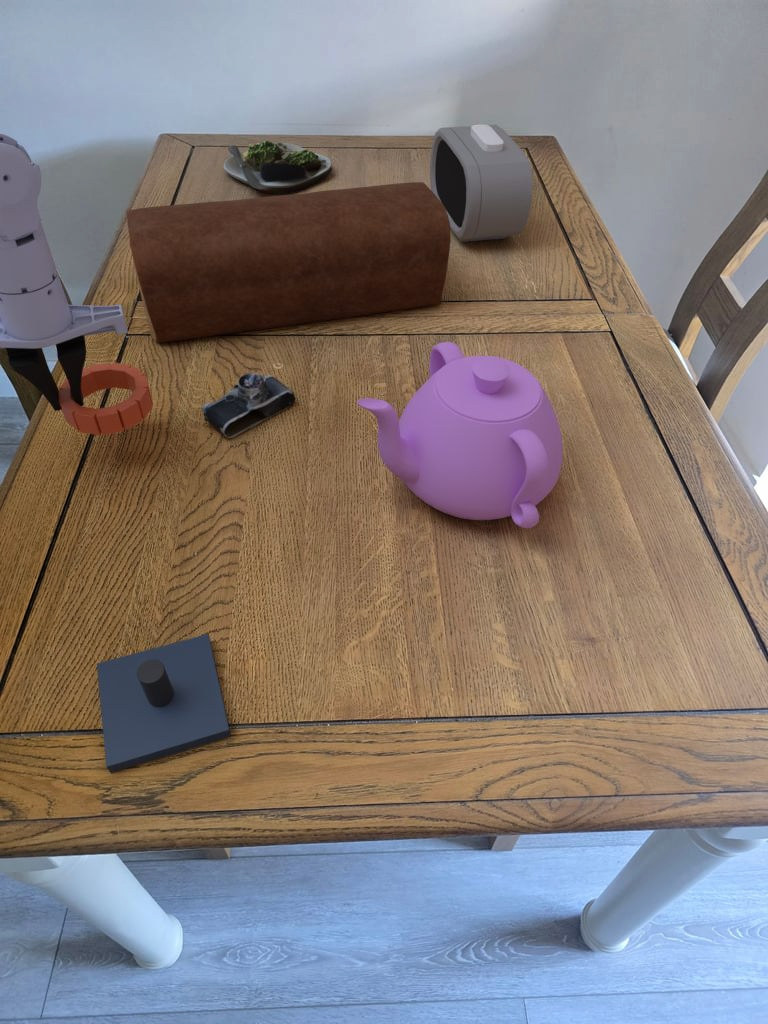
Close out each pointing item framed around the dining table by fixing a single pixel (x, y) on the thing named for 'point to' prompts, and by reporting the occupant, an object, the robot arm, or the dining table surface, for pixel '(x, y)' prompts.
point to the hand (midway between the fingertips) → (69, 402)
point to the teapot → (474, 438)
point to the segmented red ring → (112, 416)
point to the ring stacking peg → (160, 702)
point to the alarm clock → (481, 181)
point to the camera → (248, 404)
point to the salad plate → (277, 167)
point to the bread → (288, 259)
